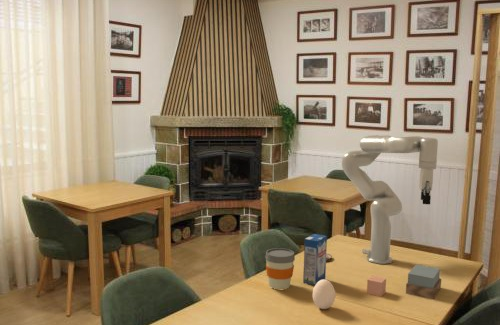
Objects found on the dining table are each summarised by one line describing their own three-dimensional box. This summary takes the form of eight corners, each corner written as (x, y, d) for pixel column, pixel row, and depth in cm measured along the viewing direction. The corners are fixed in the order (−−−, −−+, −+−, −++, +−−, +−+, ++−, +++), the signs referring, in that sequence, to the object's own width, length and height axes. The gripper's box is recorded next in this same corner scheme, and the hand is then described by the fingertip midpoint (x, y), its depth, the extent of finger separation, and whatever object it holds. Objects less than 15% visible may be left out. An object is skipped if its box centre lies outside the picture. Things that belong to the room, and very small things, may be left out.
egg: (319, 314, 183) (320, 285, 182) (307, 305, 191) (308, 277, 189) (339, 311, 186) (340, 282, 185) (326, 302, 194) (327, 274, 193)
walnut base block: (405, 294, 205) (406, 283, 204) (414, 283, 217) (415, 273, 217) (433, 300, 199) (433, 289, 198) (440, 288, 212) (441, 278, 211)
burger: (333, 263, 242) (333, 248, 241) (309, 262, 242) (309, 248, 241) (329, 255, 254) (330, 241, 253) (306, 255, 254) (307, 241, 253)
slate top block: (407, 283, 204) (408, 273, 204) (415, 274, 216) (416, 264, 216) (432, 289, 199) (433, 278, 199) (439, 278, 211) (440, 268, 210)
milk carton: (316, 286, 211) (317, 241, 208) (303, 283, 214) (304, 238, 212) (325, 279, 219) (327, 235, 217) (312, 276, 223) (314, 233, 220)
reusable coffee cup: (298, 283, 213) (299, 250, 211) (287, 293, 202) (288, 258, 200) (271, 278, 219) (272, 246, 217) (260, 288, 207) (260, 254, 205)
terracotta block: (366, 293, 204) (367, 279, 203) (371, 288, 209) (372, 275, 208) (381, 296, 201) (381, 282, 200) (385, 292, 206) (386, 278, 205)
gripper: (417, 162, 231) (415, 197, 233) (420, 167, 215) (418, 205, 217) (434, 163, 229) (432, 198, 231) (438, 167, 213) (436, 206, 215)
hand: (425, 202), depth 224 cm, fingers open, 9 cm apart
